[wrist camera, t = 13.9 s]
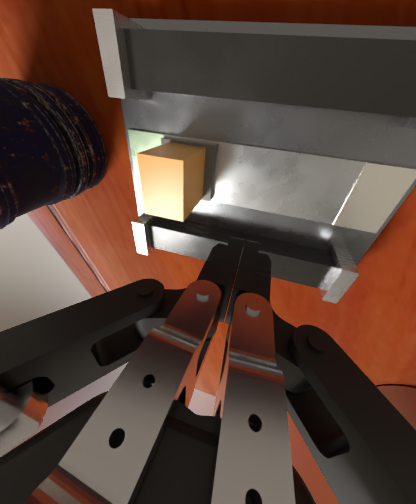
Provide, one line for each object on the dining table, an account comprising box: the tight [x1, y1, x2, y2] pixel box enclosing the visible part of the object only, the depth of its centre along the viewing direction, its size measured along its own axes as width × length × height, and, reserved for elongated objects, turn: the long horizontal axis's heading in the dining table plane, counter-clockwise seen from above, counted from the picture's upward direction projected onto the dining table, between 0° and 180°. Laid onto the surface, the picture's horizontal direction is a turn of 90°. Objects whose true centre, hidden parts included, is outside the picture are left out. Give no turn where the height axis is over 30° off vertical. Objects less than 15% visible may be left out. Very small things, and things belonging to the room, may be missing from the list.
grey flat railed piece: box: [92, 8, 416, 303], centre depth 15 cm, size 22×17×5 cm
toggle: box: [137, 137, 217, 222], centre depth 15 cm, size 4×4×5 cm
